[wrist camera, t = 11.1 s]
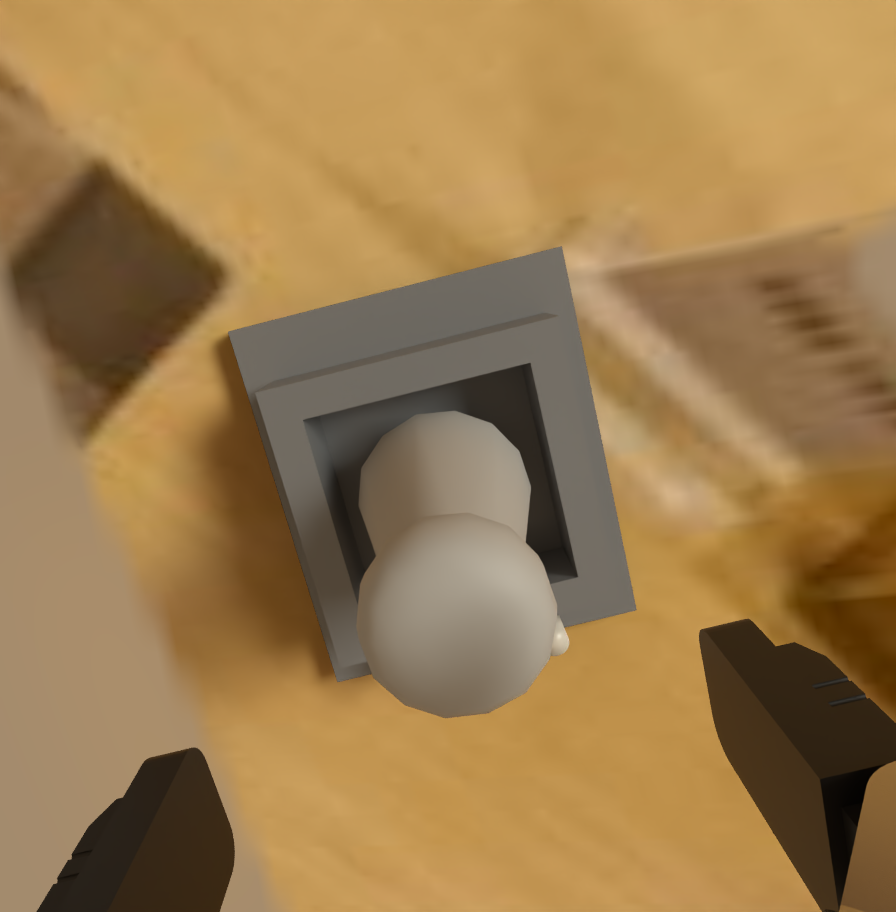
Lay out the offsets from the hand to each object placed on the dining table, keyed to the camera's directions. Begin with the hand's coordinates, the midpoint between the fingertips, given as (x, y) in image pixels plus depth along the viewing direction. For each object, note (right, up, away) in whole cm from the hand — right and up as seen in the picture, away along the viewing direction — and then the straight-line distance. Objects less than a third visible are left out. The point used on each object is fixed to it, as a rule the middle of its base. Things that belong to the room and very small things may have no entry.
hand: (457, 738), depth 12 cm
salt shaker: (0, +4, +16) cm, 17 cm away
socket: (0, +4, +17) cm, 17 cm away
